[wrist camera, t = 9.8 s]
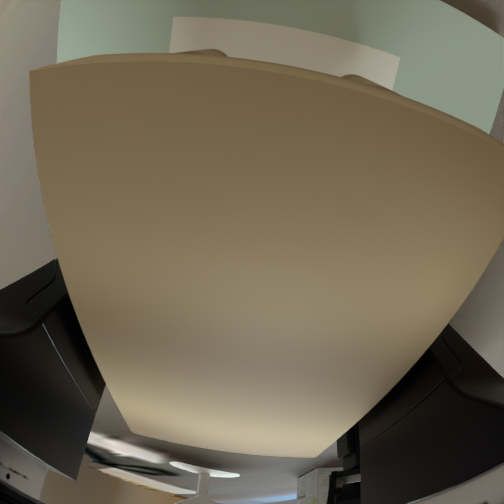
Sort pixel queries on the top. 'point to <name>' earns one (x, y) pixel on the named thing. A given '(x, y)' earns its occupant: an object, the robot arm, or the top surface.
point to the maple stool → (257, 238)
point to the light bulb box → (315, 486)
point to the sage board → (312, 42)
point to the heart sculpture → (201, 482)
